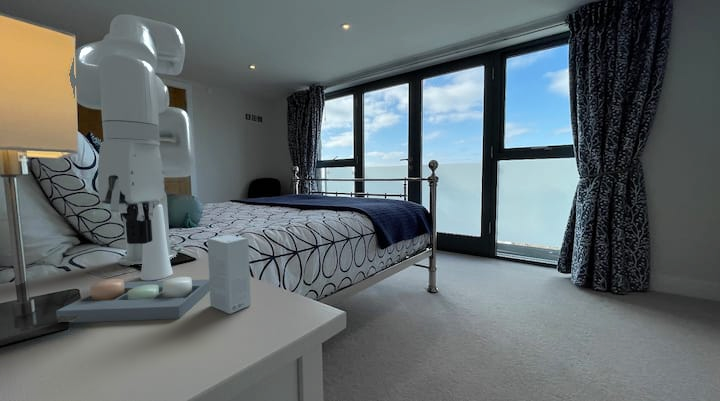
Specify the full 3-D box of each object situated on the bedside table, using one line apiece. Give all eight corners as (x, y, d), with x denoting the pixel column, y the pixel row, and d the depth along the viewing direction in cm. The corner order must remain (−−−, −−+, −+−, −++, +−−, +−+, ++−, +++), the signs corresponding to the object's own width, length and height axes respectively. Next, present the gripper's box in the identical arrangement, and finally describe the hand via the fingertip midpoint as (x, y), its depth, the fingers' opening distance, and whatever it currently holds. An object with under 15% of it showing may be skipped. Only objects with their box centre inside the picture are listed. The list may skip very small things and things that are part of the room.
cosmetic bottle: (140, 275, 67) (133, 178, 65) (171, 270, 70) (166, 178, 68) (140, 283, 62) (133, 178, 60) (174, 277, 66) (168, 178, 64)
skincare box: (251, 305, 51) (249, 238, 50) (229, 315, 48) (226, 242, 47) (231, 297, 55) (229, 234, 53) (209, 306, 51) (205, 238, 50)
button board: (115, 292, 57) (114, 282, 57) (211, 289, 58) (210, 279, 58) (57, 323, 45) (56, 310, 45) (179, 318, 47) (178, 306, 46)
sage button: (139, 297, 54) (138, 285, 54) (164, 296, 54) (163, 284, 54) (121, 308, 49) (120, 294, 49) (149, 307, 50) (148, 293, 50)
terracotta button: (105, 291, 53) (104, 279, 53) (130, 291, 54) (129, 278, 53) (84, 302, 49) (83, 288, 49) (112, 301, 49) (111, 287, 49)
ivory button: (172, 289, 54) (171, 277, 54) (196, 288, 54) (196, 276, 54) (157, 299, 50) (156, 286, 50) (184, 298, 50) (183, 285, 50)
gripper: (138, 140, 56) (145, 234, 58) (68, 129, 42) (79, 255, 43) (179, 140, 57) (184, 233, 59) (124, 129, 42) (133, 254, 44)
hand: (140, 242), depth 51 cm, fingers closed
